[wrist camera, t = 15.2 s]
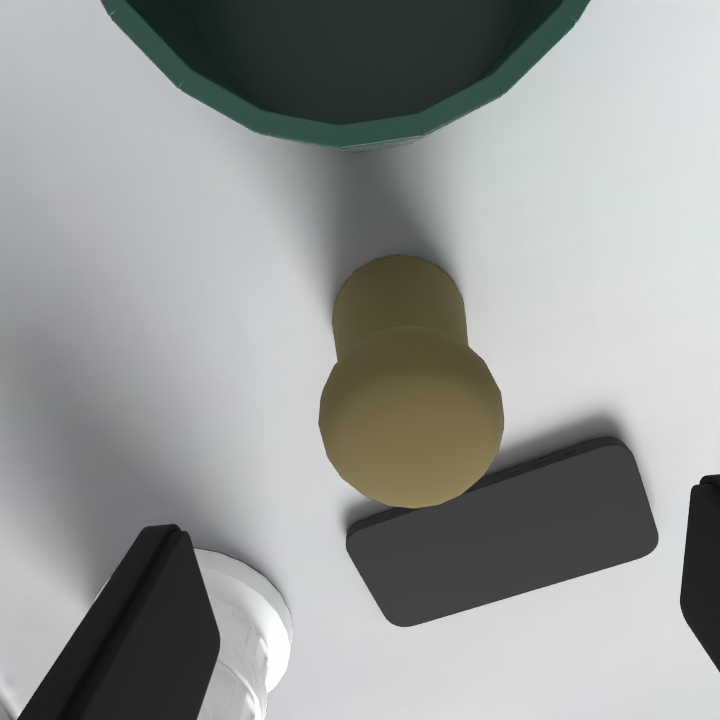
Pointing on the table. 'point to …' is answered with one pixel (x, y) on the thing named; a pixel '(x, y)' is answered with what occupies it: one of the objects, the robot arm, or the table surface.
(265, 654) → the decorative container
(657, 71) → the table surface
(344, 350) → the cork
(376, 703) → the table surface
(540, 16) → the pot
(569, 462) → the phone
